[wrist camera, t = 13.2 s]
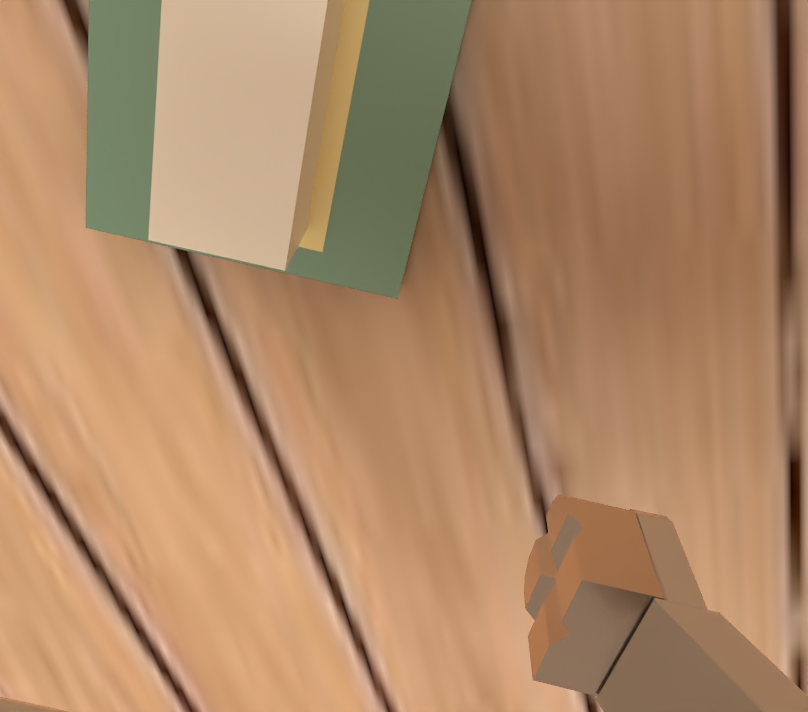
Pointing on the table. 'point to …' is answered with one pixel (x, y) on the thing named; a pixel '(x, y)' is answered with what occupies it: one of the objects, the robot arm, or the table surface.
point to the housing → (240, 124)
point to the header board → (341, 142)
